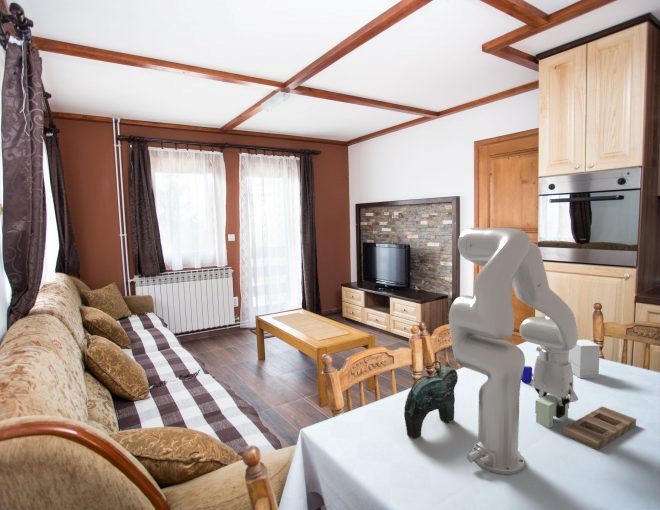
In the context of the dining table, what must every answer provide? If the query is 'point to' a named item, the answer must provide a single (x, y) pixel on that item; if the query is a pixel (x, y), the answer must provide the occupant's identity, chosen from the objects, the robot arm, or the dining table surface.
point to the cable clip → (527, 374)
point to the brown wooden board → (599, 427)
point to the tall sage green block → (548, 410)
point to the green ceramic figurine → (430, 398)
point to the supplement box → (585, 359)
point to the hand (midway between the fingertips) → (552, 412)
